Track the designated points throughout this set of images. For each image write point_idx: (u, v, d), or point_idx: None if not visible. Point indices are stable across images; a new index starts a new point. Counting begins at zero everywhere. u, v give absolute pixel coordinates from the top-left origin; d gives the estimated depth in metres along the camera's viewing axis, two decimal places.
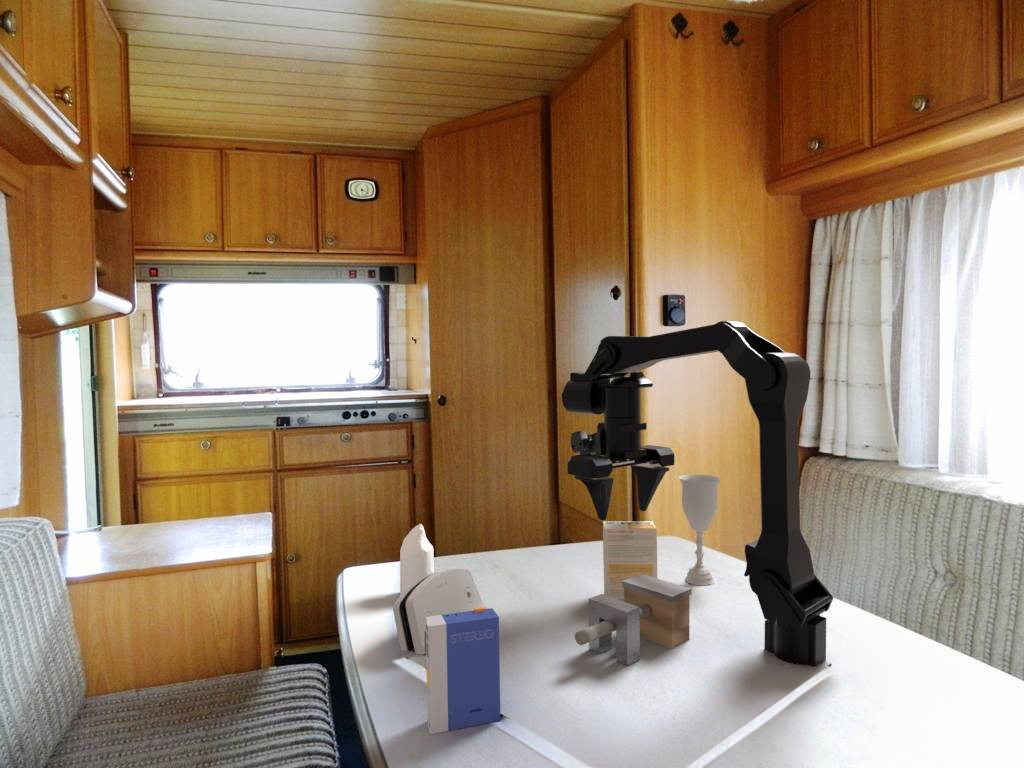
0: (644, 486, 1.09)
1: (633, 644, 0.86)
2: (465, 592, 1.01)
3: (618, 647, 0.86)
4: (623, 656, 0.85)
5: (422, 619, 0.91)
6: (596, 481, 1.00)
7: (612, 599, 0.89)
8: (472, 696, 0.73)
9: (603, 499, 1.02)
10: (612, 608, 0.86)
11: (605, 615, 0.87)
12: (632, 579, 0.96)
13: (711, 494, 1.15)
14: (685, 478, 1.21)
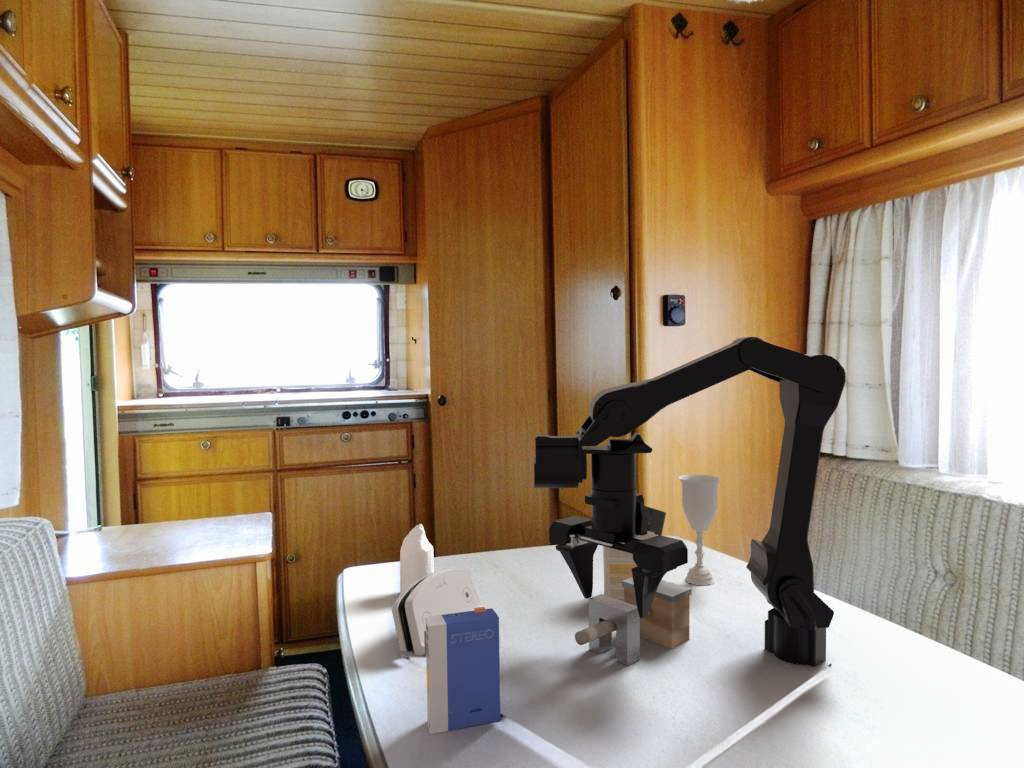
0: None
1: (633, 644, 0.86)
2: (463, 592, 1.00)
3: (618, 647, 0.86)
4: (623, 656, 0.85)
5: (421, 619, 0.91)
6: (556, 546, 0.92)
7: (612, 599, 0.89)
8: (472, 696, 0.73)
9: None
10: (612, 608, 0.86)
11: (605, 615, 0.87)
12: (632, 579, 0.96)
13: (711, 494, 1.15)
14: (685, 478, 1.21)
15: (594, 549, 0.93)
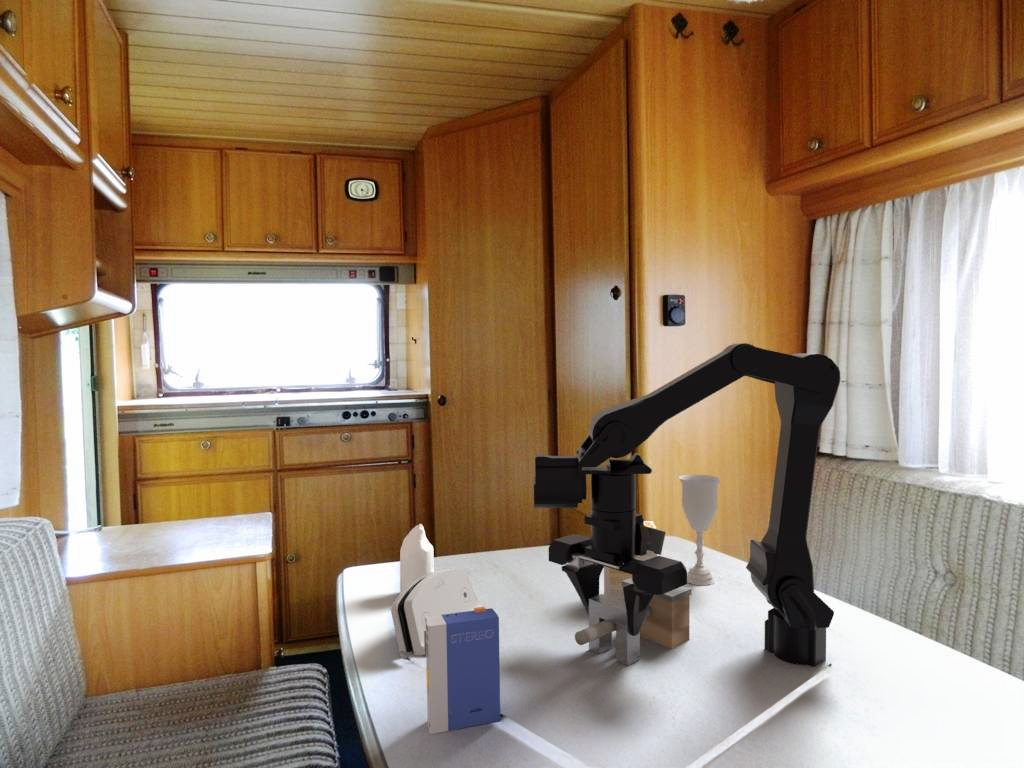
0: None
1: (633, 644, 0.86)
2: (462, 592, 1.00)
3: (618, 647, 0.86)
4: (623, 656, 0.85)
5: (421, 619, 0.91)
6: (562, 567, 0.91)
7: (612, 599, 0.89)
8: (472, 696, 0.73)
9: None
10: (612, 608, 0.86)
11: (605, 615, 0.87)
12: None
13: (711, 494, 1.15)
14: (685, 478, 1.21)
15: (600, 570, 0.92)
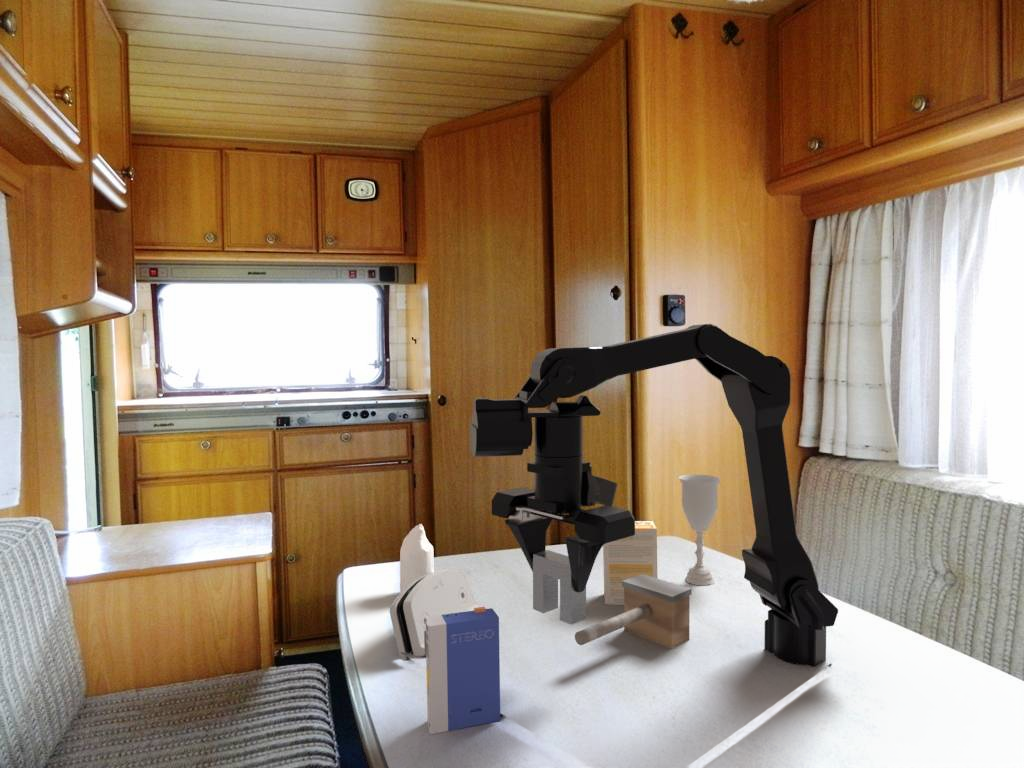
0: None
1: (578, 601, 0.79)
2: (459, 592, 1.00)
3: (562, 605, 0.79)
4: (567, 614, 0.78)
5: (420, 620, 0.91)
6: (506, 521, 0.84)
7: (558, 554, 0.82)
8: (472, 696, 0.73)
9: None
10: (556, 563, 0.80)
11: (549, 570, 0.80)
12: (632, 579, 0.96)
13: (711, 494, 1.15)
14: (685, 478, 1.21)
15: (547, 524, 0.85)
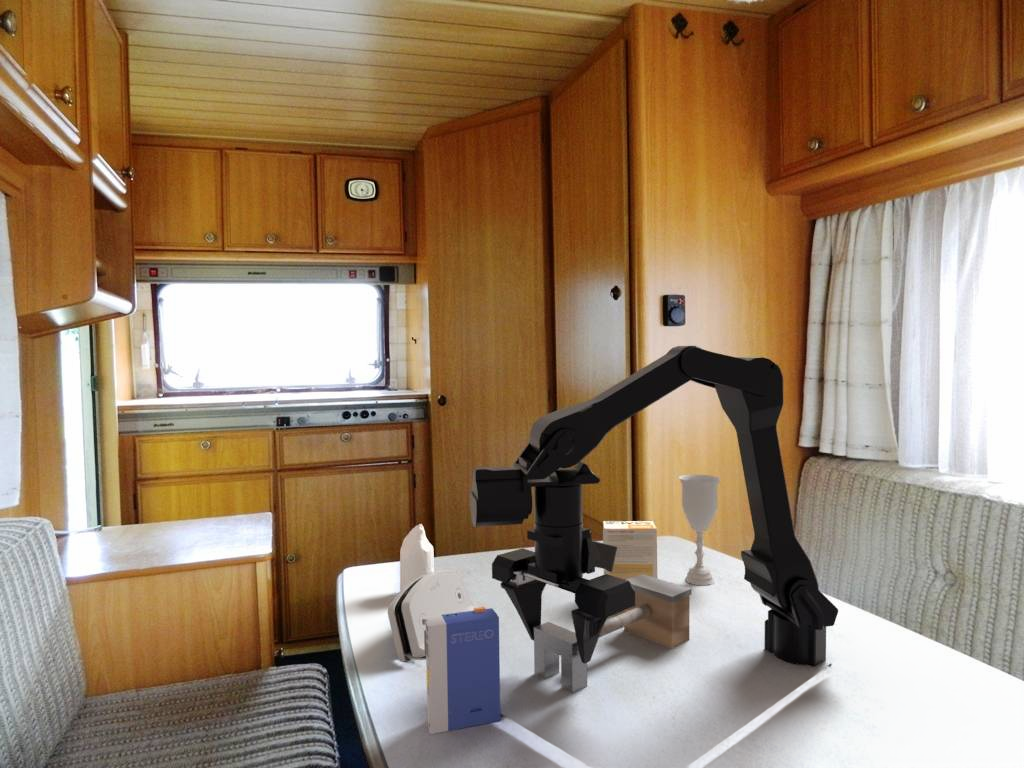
0: None
1: (579, 678, 0.79)
2: (456, 593, 1.00)
3: (563, 681, 0.79)
4: (568, 691, 0.79)
5: (418, 621, 0.90)
6: (502, 583, 0.85)
7: (559, 628, 0.82)
8: (472, 696, 0.73)
9: None
10: (557, 639, 0.80)
11: (550, 645, 0.81)
12: (632, 579, 0.96)
13: (711, 494, 1.15)
14: (685, 478, 1.21)
15: (543, 586, 0.86)
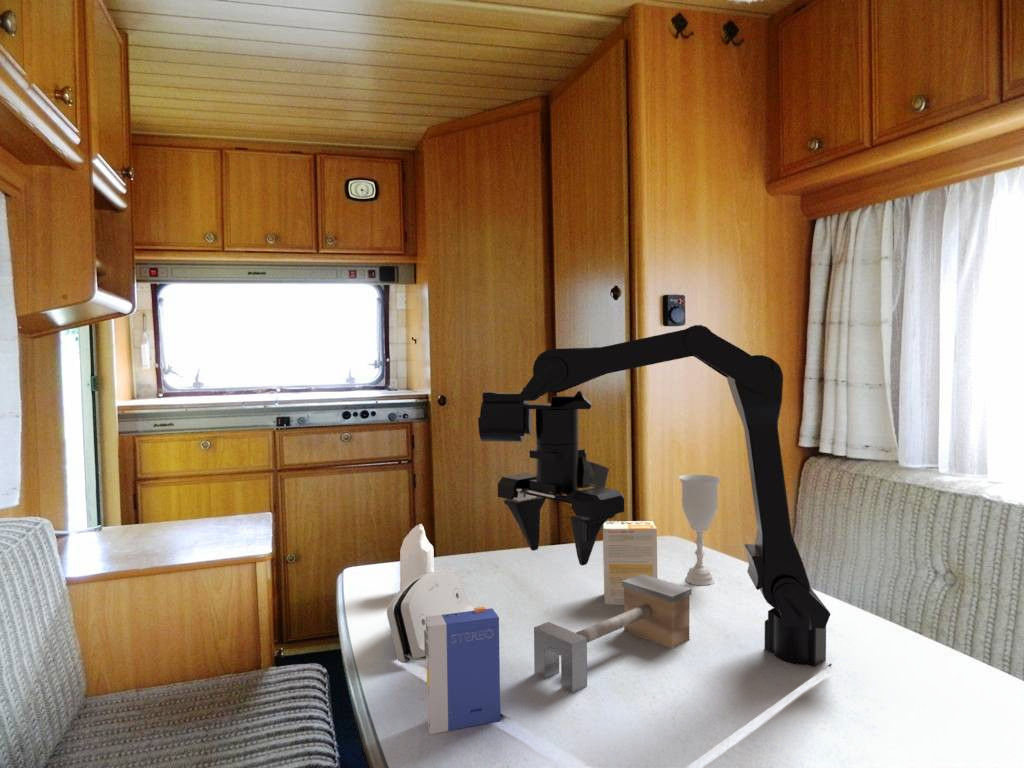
0: None
1: (579, 678, 0.79)
2: (454, 593, 1.00)
3: (563, 681, 0.79)
4: (568, 691, 0.79)
5: (418, 621, 0.90)
6: (505, 501, 0.96)
7: (559, 628, 0.82)
8: (472, 696, 0.73)
9: None
10: (557, 639, 0.80)
11: (550, 645, 0.81)
12: (632, 579, 0.96)
13: (711, 494, 1.15)
14: (685, 478, 1.21)
15: (541, 504, 0.97)
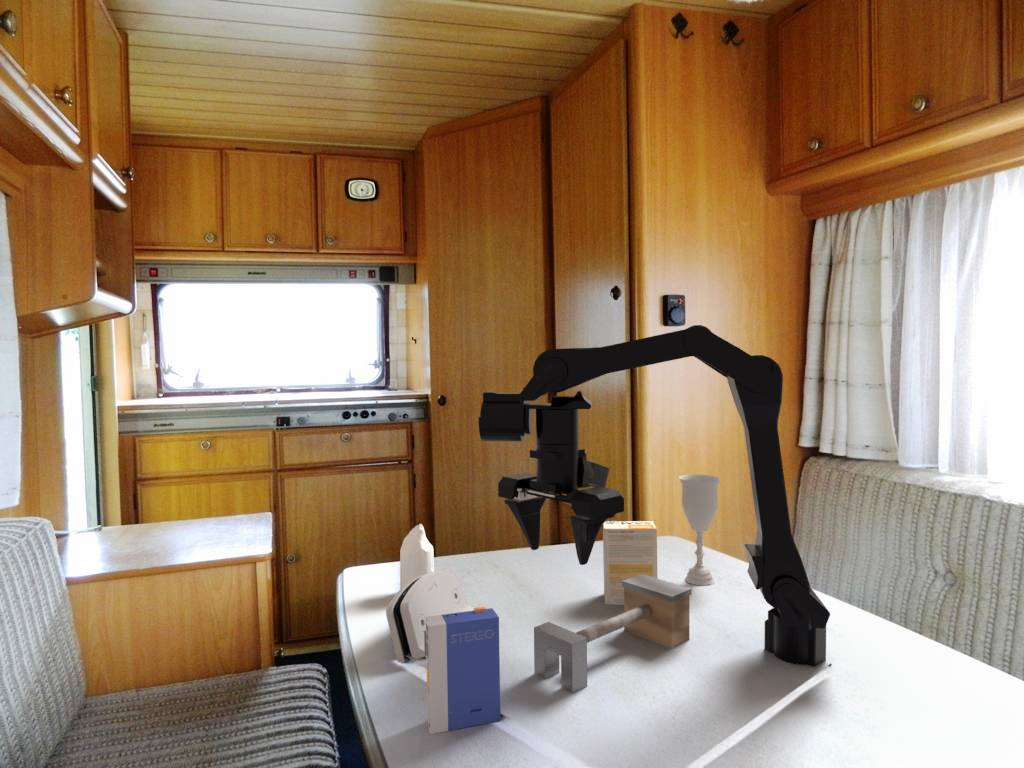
0: None
1: (579, 678, 0.79)
2: (452, 593, 1.00)
3: (563, 681, 0.79)
4: (568, 691, 0.79)
5: (417, 622, 0.90)
6: None
7: (559, 628, 0.82)
8: (472, 696, 0.73)
9: None
10: (557, 639, 0.80)
11: (550, 645, 0.81)
12: (632, 579, 0.96)
13: (711, 494, 1.15)
14: (685, 478, 1.21)
15: (541, 503, 0.97)
